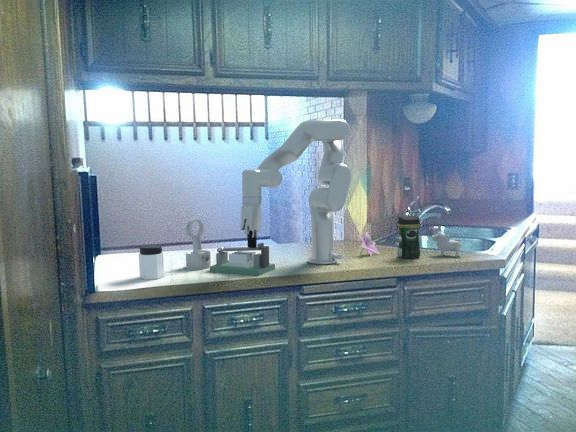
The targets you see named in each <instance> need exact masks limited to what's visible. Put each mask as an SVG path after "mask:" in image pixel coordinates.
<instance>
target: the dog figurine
mask: <svg viewBox="0 0 576 432" xmlns="http://www.w3.org/2000/svg"><path fill="white" fill-rule="evenodd" d="M431 239H432V240H433V241H434V242H436V247H437V248H438V249H439V250H440V254H439V256H440V257H443V256H444V253H445V250H447V251H454V252H455V256H454V257H455V258H458V257H459V254H460V250H461V247H462V241H461V240H460V239H459V238H455V239H451V236H450V235H449V234H446V235H445V234H444V233H443V232H441V231H437V234H434V235H431Z"/></svg>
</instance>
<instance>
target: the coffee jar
mask: <svg viewBox="0 0 576 432" xmlns="http://www.w3.org/2000/svg"><path fill="white" fill-rule="evenodd" d="M396 225H397V228H398V244H397V245H398V246H397V256H398V258H400V259H417V258H420V257H421V247H420V246H421V245H420V239H419V234H420V233H419V229H420V227H421V221H420V217H419V216H417V215H400V216H398V218H397V224H396Z"/></svg>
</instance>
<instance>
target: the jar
mask: <svg viewBox="0 0 576 432" xmlns="http://www.w3.org/2000/svg"><path fill="white" fill-rule="evenodd" d="M164 262H165V261H164V252H163V248H162V245H161V244H145V245H144V244H143V245H141V246H139V253H138V265H139V266H138V268H139V279H142V280H143V281H144V280H145V281H151V280H152V281H153V280H159V279H162V278H164V277H165V269H164V268H165V267H164V266H165V265H164Z"/></svg>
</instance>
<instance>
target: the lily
mask: <svg viewBox="0 0 576 432" xmlns="http://www.w3.org/2000/svg"><path fill="white" fill-rule="evenodd" d="M358 237H359V238H360V240H361V241H362V243H361V247H362V250H361V251H360V253H359V254H360V255H361V254H362V253H363V250H364V249H367V251H368V253H369V255H370V257H372V256H373V252H374V253H376V254H378V255H380V252H379V250H378V248H377V247H376V246H375V245H376V242H375V241H373V240H372V239H371V236H370V234H369V233H368V231H366V232H365V236H364V237H363V236H362V235H359V234H358Z"/></svg>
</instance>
